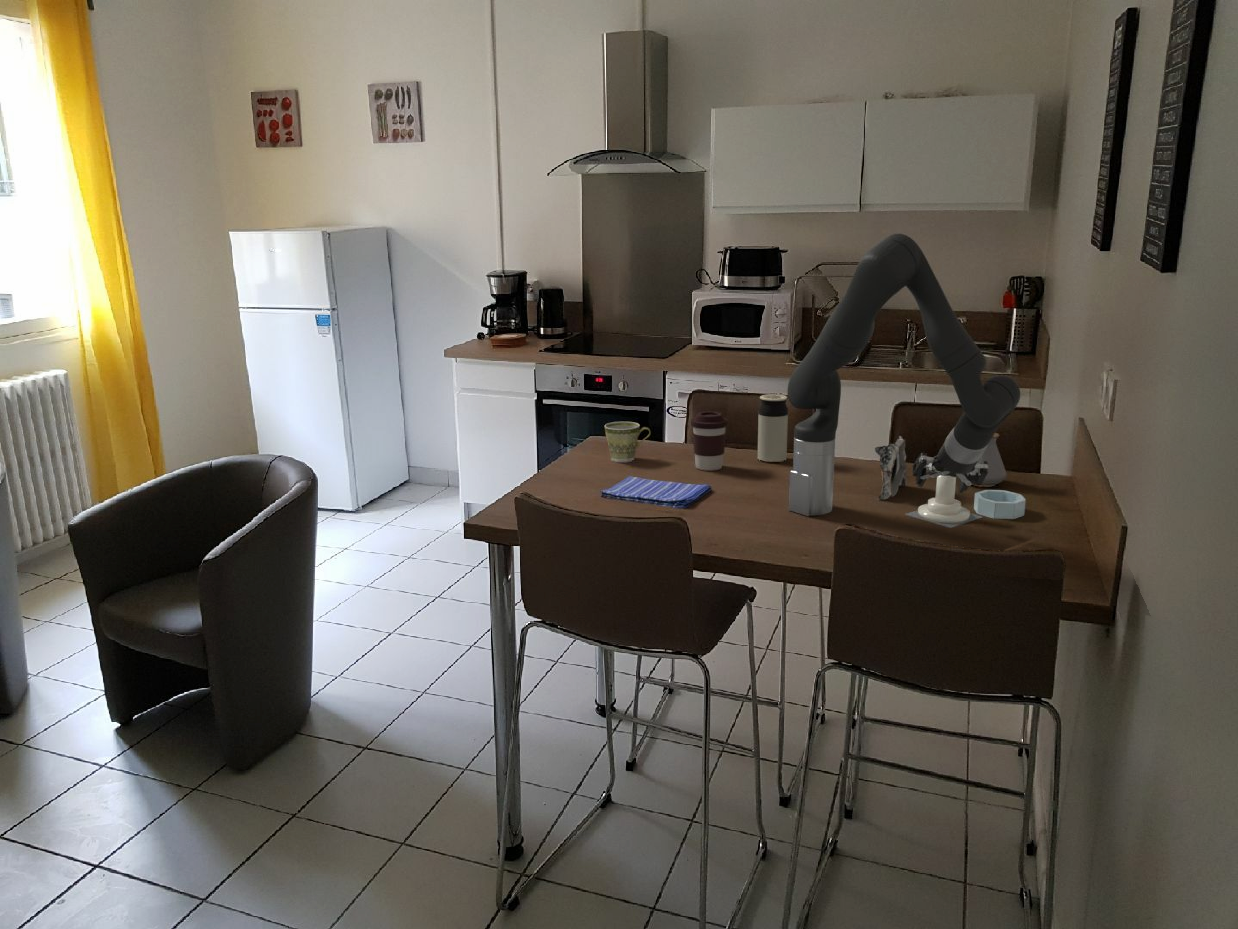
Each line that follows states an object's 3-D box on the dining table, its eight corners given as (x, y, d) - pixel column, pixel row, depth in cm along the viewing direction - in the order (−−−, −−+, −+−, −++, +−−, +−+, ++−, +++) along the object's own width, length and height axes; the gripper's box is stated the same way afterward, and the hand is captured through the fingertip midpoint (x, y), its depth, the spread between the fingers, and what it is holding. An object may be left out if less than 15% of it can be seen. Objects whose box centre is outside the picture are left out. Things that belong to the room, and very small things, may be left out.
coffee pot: (958, 475, 239) (963, 419, 235) (1006, 479, 234) (1012, 422, 230) (951, 498, 220) (956, 437, 216) (1002, 503, 215) (1008, 441, 211)
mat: (950, 529, 198) (950, 527, 198) (904, 515, 208) (904, 514, 207) (982, 518, 205) (983, 516, 205) (936, 505, 214) (937, 504, 214)
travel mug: (764, 464, 252) (765, 400, 247) (753, 457, 259) (754, 395, 255) (791, 462, 254) (793, 398, 249) (779, 455, 261) (781, 393, 257)
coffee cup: (690, 463, 255) (690, 410, 251) (725, 462, 255) (726, 409, 251) (691, 472, 245) (691, 417, 241) (728, 472, 245) (729, 417, 241)
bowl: (1005, 523, 201) (1007, 505, 200) (965, 512, 209) (967, 495, 208) (1031, 514, 207) (1033, 497, 206) (991, 503, 215) (992, 487, 214)
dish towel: (687, 511, 215) (687, 500, 214) (598, 499, 226) (597, 488, 225) (713, 492, 230) (713, 481, 229) (629, 481, 240) (629, 471, 240)
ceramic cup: (604, 464, 255) (603, 429, 253) (606, 455, 265) (605, 421, 262) (650, 464, 255) (650, 429, 252) (650, 455, 264) (650, 421, 262)
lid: (949, 526, 199) (953, 481, 196) (907, 514, 207) (910, 470, 205) (979, 516, 205) (983, 472, 202) (937, 505, 213) (940, 462, 211)
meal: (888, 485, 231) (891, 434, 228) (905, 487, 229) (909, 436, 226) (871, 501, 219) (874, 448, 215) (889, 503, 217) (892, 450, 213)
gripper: (928, 457, 183) (906, 496, 197) (1000, 468, 181) (973, 506, 195) (928, 426, 186) (906, 466, 200) (999, 436, 185) (972, 476, 199)
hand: (939, 486), depth 198 cm, fingers open, 8 cm apart
